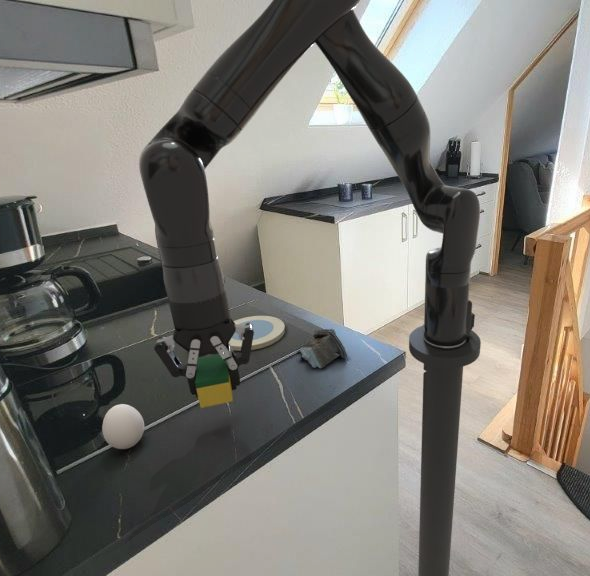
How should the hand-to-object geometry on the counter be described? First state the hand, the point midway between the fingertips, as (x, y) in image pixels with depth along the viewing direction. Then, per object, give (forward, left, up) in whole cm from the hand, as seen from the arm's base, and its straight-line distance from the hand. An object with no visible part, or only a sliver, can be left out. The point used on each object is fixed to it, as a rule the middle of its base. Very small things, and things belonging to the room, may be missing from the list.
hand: (217, 390), depth 63 cm
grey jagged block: (-19, -16, -8) cm, 25 cm away
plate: (-6, -31, -7) cm, 32 cm away
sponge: (0, 0, 0) cm, 0 cm away
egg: (+14, -1, -8) cm, 16 cm away
